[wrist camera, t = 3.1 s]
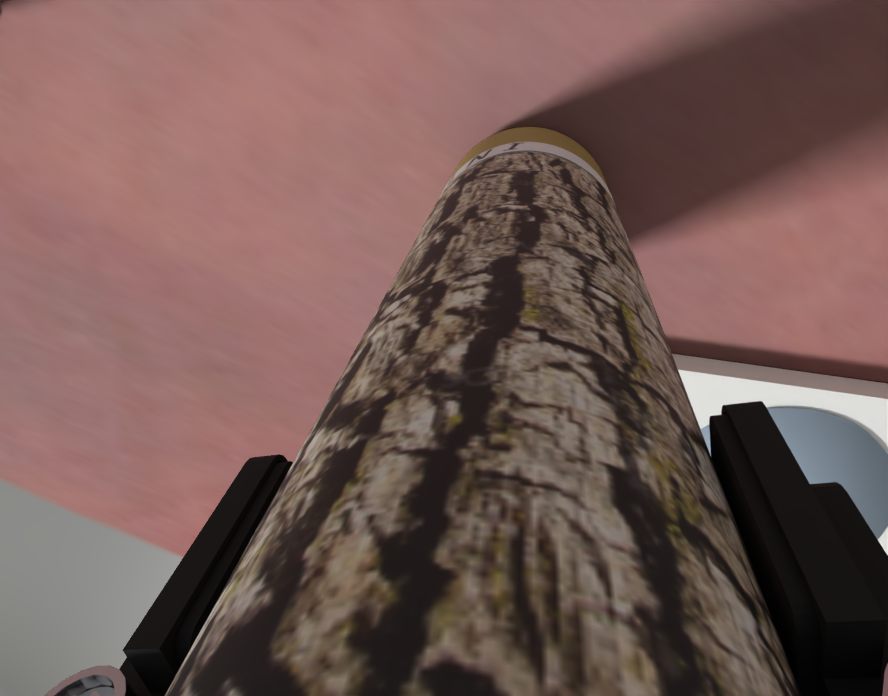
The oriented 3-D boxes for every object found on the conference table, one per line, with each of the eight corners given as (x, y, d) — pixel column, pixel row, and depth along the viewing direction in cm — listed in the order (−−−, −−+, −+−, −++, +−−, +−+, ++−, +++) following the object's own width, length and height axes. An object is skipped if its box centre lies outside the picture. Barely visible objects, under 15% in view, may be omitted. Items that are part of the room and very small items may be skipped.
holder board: (1037, 404, 28) (1065, 426, 27) (910, 606, 34) (926, 633, 33) (582, 341, 30) (584, 358, 28) (538, 545, 36) (538, 568, 34)
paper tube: (641, 172, 26) (1185, 1053, 4) (555, 306, 29) (596, 1205, 7) (492, 91, 25) (167, 619, 3) (421, 238, 28) (19, 998, 7)
